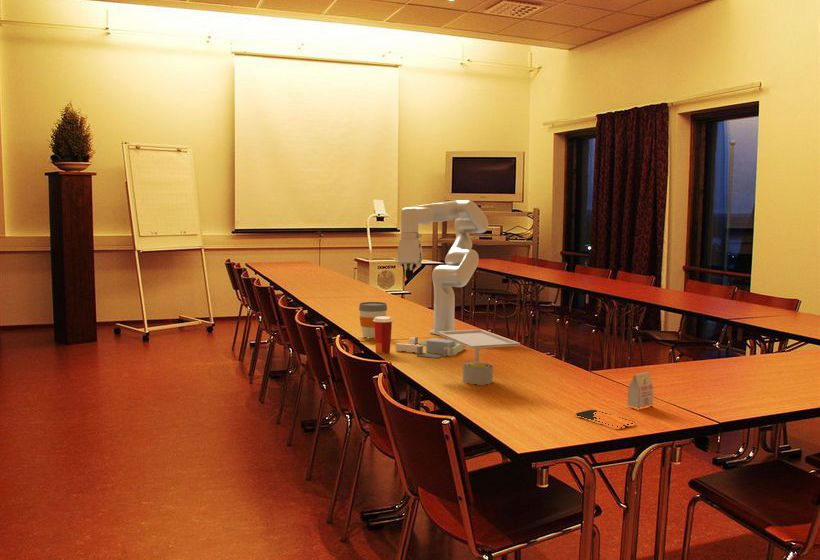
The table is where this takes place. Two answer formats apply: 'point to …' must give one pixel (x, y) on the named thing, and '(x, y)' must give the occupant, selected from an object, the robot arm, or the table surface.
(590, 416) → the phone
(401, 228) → the robot arm
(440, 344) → the block
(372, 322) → the reusable coffee cup
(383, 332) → the paper cup
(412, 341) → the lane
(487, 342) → the solar panel model
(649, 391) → the grey tall gabled block
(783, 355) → the table surface
